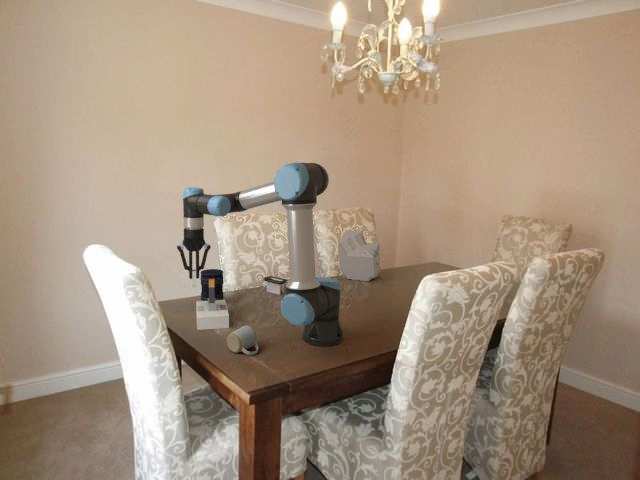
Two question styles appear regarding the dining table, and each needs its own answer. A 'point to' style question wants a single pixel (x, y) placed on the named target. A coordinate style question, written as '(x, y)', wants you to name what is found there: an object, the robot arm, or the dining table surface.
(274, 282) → the grey bin
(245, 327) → the ceramic mug
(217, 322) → the switch box
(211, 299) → the switch lever
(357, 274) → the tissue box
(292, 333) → the dining table surface
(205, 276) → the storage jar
